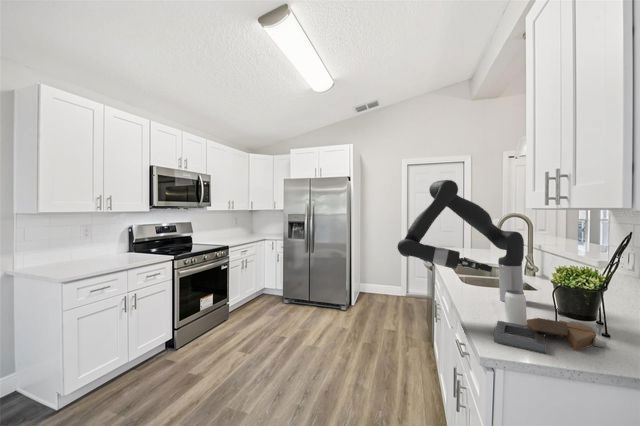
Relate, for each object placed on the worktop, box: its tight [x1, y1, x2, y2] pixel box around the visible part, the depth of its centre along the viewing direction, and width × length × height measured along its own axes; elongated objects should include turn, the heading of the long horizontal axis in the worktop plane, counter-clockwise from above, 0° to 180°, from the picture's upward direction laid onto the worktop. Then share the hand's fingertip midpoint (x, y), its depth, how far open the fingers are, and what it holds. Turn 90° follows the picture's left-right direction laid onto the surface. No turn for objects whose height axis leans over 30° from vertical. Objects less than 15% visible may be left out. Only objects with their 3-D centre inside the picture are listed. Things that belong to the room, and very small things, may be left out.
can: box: [504, 290, 528, 326], centre depth 102 cm, size 6×6×12 cm
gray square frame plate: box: [493, 320, 547, 354], centre depth 90 cm, size 14×13×2 cm
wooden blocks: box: [526, 317, 606, 352], centre depth 87 cm, size 8×13×18 cm
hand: (489, 268), depth 107 cm, fingers open, 8 cm apart
